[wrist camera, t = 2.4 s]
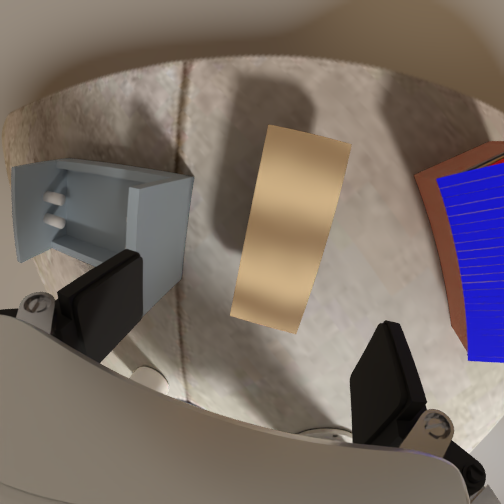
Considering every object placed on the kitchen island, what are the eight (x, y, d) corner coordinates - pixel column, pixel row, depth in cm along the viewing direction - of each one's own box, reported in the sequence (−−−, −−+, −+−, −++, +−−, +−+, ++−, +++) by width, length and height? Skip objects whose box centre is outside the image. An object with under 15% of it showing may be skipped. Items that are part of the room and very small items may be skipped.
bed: (181, 278, 32) (136, 322, 23) (66, 237, 35) (17, 260, 26) (194, 176, 28) (139, 189, 19) (67, 158, 30) (11, 167, 21)
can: (130, 363, 40) (91, 410, 29) (161, 366, 39) (122, 420, 28) (146, 390, 42) (113, 437, 31) (176, 394, 41) (144, 447, 30)
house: (489, 137, 19) (558, 139, 8) (516, 288, 23) (561, 335, 12) (409, 172, 23) (467, 186, 12) (448, 328, 27) (483, 391, 16)
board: (298, 316, 26) (296, 334, 23) (238, 299, 27) (229, 315, 24) (346, 146, 20) (351, 144, 17) (274, 128, 21) (268, 124, 18)
